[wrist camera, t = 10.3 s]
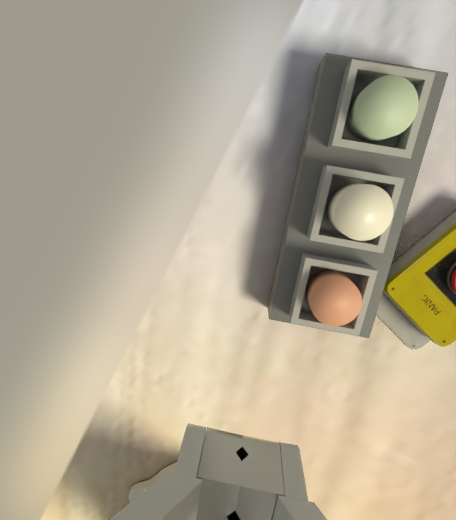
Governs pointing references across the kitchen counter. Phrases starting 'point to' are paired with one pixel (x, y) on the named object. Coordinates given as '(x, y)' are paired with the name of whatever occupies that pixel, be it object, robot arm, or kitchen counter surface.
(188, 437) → the robot arm
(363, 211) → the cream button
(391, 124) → the pale green egg
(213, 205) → the kitchen counter surface
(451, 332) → the emergency button
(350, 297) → the brown egg
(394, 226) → the panel
